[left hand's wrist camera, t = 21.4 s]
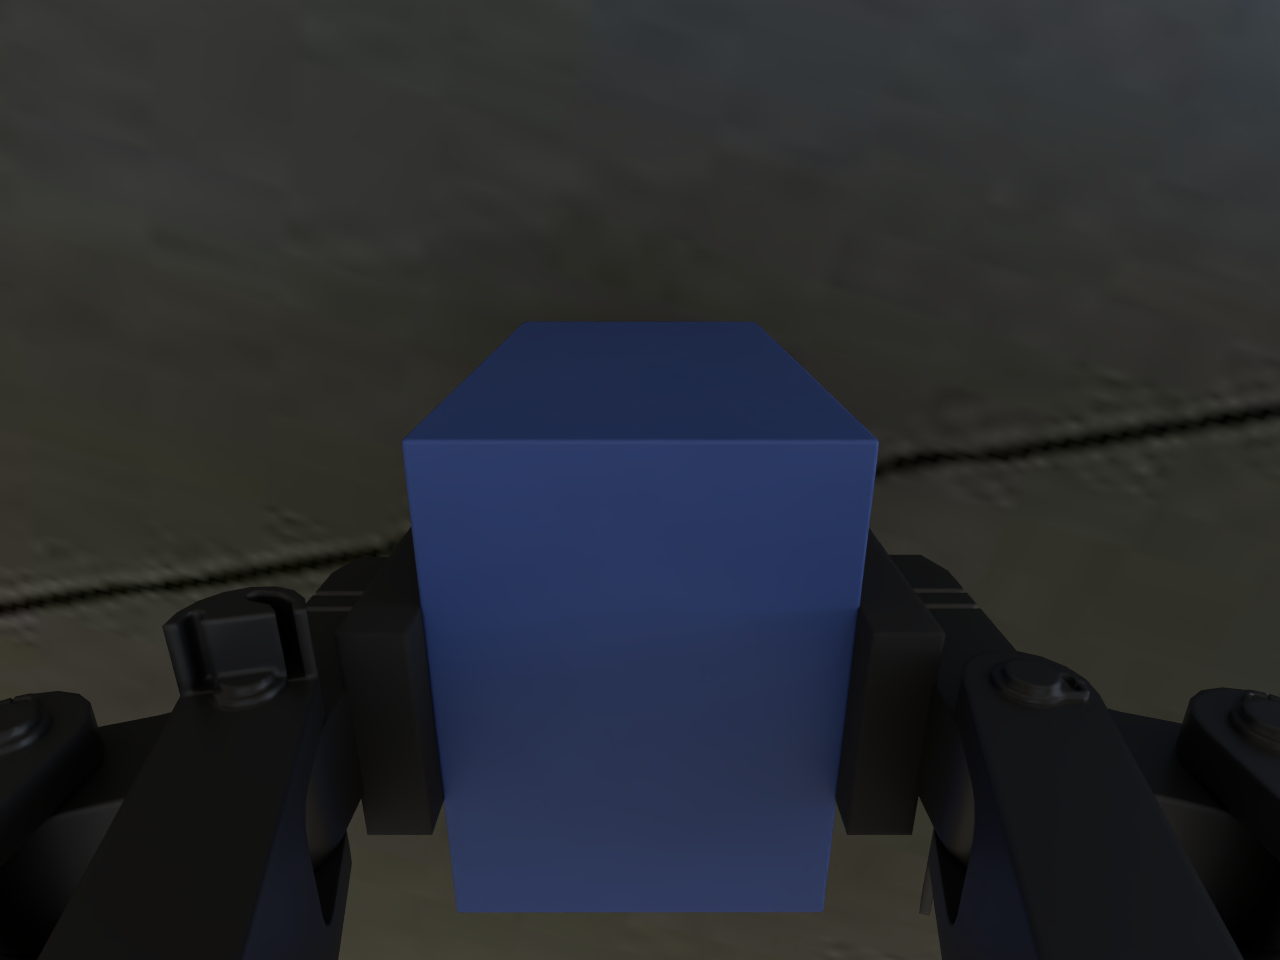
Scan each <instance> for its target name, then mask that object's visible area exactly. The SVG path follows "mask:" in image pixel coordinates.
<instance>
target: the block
mask: <svg viewBox="0 0 1280 960" xmlns="http://www.w3.org/2000/svg"><path fill="white" fill-rule="evenodd" d="M878 448H879V442H878V440H877V439H876V438H875V437H874V436H873V435H872V434H871V433H870V432H869V431H868V430H867V429H866V428H865V427H864V426H863V425H862V424H861V423H860V422H859V421H858V420H857V419H855V418H854V417H853V416H852V415H851V414H850V413H849V412H848V411H847V410H846V409H845V408H844V407H843V406H842V405H841V404H840V403H839V402H838V401H837V400H836V399H835V398H834V397H833V396H832V395H830V394H829V393H828V392H827V391H826V390H825V389H824V388H823V387H822V386H821V385H820V384H819V383H818V382H817V381H816V380H815V379H814V378H813V377H812V376H811V375H810V374H809V373H808V372H807V371H805V370H804V369H803V368H802V367H801V366H800V365H799V364H798V363H797V362H796V361H795V360H794V359H793V358H792V357H791V356H790V355H789V354H788V353H787V352H786V351H785V350H784V349H783V348H782V347H780V346H779V345H778V344H777V343H776V342H775V341H774V340H773V339H772V338H771V337H770V336H769V335H768V334H767V333H766V332H765V331H764V330H763V329H762V328H761V327H760V326H759V325H758V324H756V323H755V322H524V323H523V324H522V325H521V326H520V327H519V328H518V329H517V330H516V331H514V332H513V333H512V334H511V335H510V336H509V337H508V338H507V339H506V340H505V341H504V342H503V343H502V344H501V345H500V346H499V347H498V348H497V349H496V350H495V351H494V352H493V353H492V354H491V355H490V356H489V357H488V358H487V359H486V360H485V361H484V362H483V363H481V364H480V365H479V366H478V367H477V368H476V369H475V370H474V371H473V372H472V373H471V374H470V375H469V376H468V377H467V378H466V379H465V380H464V381H463V382H462V383H461V384H460V385H459V386H458V387H457V388H456V389H455V390H454V391H453V392H452V393H451V394H450V395H448V396H447V397H446V398H445V399H444V400H443V401H442V402H441V403H440V404H439V405H438V406H437V407H436V408H435V409H434V410H433V411H432V412H431V413H430V414H429V415H428V416H427V417H426V418H425V419H424V420H423V421H422V422H421V423H420V424H419V425H418V426H417V427H415V428H414V429H413V430H412V431H411V432H410V433H409V434H408V435H407V436H406V437H405V438H404V439H403V441H402V451H403V459H404V468H405V476H406V485H407V493H408V502H409V510H410V518H411V527H412V535H413V544H414V552H415V561H416V569H417V578H418V586H419V595H420V603H421V610H422V619H423V627H424V636H425V644H426V653H427V661H428V670H429V678H430V687H431V695H432V704H433V712H434V720H435V729H436V737H437V746H438V754H439V763H440V771H441V780H442V788H443V797H444V807H445V815H446V824H447V832H448V841H449V849H450V857H451V866H452V874H453V883H454V891H455V900H456V908H457V911H458V912H821V911H823V906H824V898H825V890H826V881H827V873H828V865H829V856H830V848H831V840H832V831H833V823H834V815H835V806H836V793H837V784H838V776H839V768H840V759H841V751H842V742H843V734H844V725H845V717H846V709H847V700H848V692H849V683H850V675H851V666H852V658H853V650H854V641H855V633H856V624H857V616H858V608H859V606H860V598H861V590H862V581H863V573H864V565H865V556H866V548H867V540H868V531H869V523H870V515H871V506H872V498H873V489H874V481H875V473H876V464H877V456H878Z"/></svg>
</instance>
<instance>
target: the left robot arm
mask: <svg viewBox="0 0 1280 960" xmlns="http://www.w3.org/2000/svg"><path fill="white" fill-rule="evenodd" d="M162 627H163V631H164V635H165V639H166V642H167V646H168V650H169V654H170V658H171V661H172V665H173V669H174V673H175V677H176V681H177V684H178V688H179V692H180V698H179V700H178V702H177V703H176V705H175V707H174V709H173V711H172V712H171V713H167V714H163V715H159V716H153V717H148V718H143V719H138V720H133V721H128V722H122V723H117V724H112V725H107V726H102V727H98V726H97V723H96V719H95V716H94V713H93V710H92V707H91V703H90V702H89V701H88V700H86V699H85V698H84V697H82V696H81V695H80V694H76V693H68V692H61V691H55V692H45V693H36V694H26V695H21V696H16V697H15V699H11V698H9V699H5V700H2V701H0V960H338V957H339V950H340V943H341V936H342V929H343V922H344V914H345V907H346V900H347V893H348V886H349V879H350V872H351V865H352V862H351V854H350V846H349V841H348V835H347V827H348V825H349V823H350V821H351V819H352V817H353V814H354V812H355V810H356V808H357V806H358V804H359V802H360V800H361V799H362V804H363V810H364V816H365V822H366V828H367V834H368V835H432V834H433V831H434V828H435V824H436V821H437V818H438V815H439V812H440V809H441V806H442V803H443V800H444V797H443V788H442V780H441V771H440V763H439V754H438V746H437V737H436V729H435V720H434V712H433V704H432V695H431V687H430V678H429V670H428V661H427V653H426V644H425V636H424V627H423V619H422V610H421V603H420V595H419V586H418V578H417V569H416V561H415V552H414V544H413V535H412V527H411V528H410V529H409V530H408V532H407V533H406V535H405V536H404V537H403V539H402V540H401V541H400V543H399V544H398V546H397V547H396V548H395V550H394V551H393V553H392V554H391V555H390V557H359V558H357V559H355V560H354V561H352V562H350V563H349V564H347V565H345V566H343V567H342V568H340V569H338V570H337V571H335V572H333V573H332V574H331V575H330V576H329V577H328V578H327V580H326V581H325V582H324V583H323V584H322V586H321V587H320V588H319V589H318V590H317V591H316V596H312V597H311V598H310V600H309V601H308V602H307V603H305V598H304V597H302V596H301V595H300V594H298V593H297V592H295V591H294V590H290V589H285V588H280V587H249V588H244V589H238V590H233V591H228V592H223V593H220V594H217V595H214V596H212V597H209V598H206V599H203V600H200V601H197V602H196V603H194V604H192V605H190V606H188V607H186V608H185V609H183V610H181V611H179V612H177V613H176V614H175V615H174V616H173V617H172V618H171V619H170V620H168V621H167V622H166V623H165V624H164V625H163V626H162ZM918 795H919V797H920V799H921V801H922V803H923V805H924V808H925V810H926V812H927V814H928V816H929V818H930V820H931V822H932V824H933V826H934V829H933V835H932V841H931V846H930V852H929V857H928V863H927V868H926V874H925V879H924V885H923V890H922V896H921V903H920V911H919V913H920V914H925V915H930V911H931V906H932V900H933V899H934V906H935V913H936V920H937V927H938V934H939V941H940V948H941V955H942V960H1280V697H1278V696H1274V695H1271V694H1269V696H1268V695H1266V693H1263V692H1258V691H1254V690H1241V689H1232V688H1223V687H1222V688H1215V689H1207V690H1201V691H1200V692H1198V693H1197V694H1196V695H1195V696H1193V697H1192V698H1191V699H1190V701H1189V704H1188V707H1187V711H1186V714H1185V717H1184V720H1183V723H1182V724H1181V723H1176V722H1170V721H1165V720H1160V719H1155V718H1150V717H1144V716H1139V715H1134V714H1129V713H1123V712H1119V711H1115V710H1111V709H1107V708H1106V706H1105V704H1104V702H1103V700H1102V698H1101V697H1100V695H1099V694H1098V693H1097V691H1096V690H1095V689H1094V688H1093V687H1092V686H1091V684H1090V683H1089V682H1088V681H1087V680H1086V679H1084V678H1083V677H1081V676H1080V675H1078V674H1077V673H1075V672H1074V671H1072V670H1070V669H1069V668H1067V667H1066V666H1063V665H1061V664H1058V663H1056V662H1053V661H1051V660H1048V659H1046V658H1044V657H1041V656H1036V655H1032V654H1027V653H1023V652H1018V651H1016V650H1015V649H1014V647H1013V646H1012V645H1011V644H1010V643H1009V642H1008V640H1007V639H1006V638H1005V637H1004V636H1003V634H1002V633H1001V632H1000V631H999V630H998V629H997V627H996V626H995V625H994V624H993V623H992V622H991V620H990V619H989V618H988V617H987V616H986V615H985V613H984V612H983V611H982V610H981V609H977V604H976V603H975V602H974V601H973V599H972V598H971V597H970V596H969V595H968V594H967V593H964V589H963V588H962V587H961V585H960V584H959V583H958V582H957V581H956V580H955V578H954V577H953V576H952V575H951V574H950V573H949V571H948V570H946V569H944V568H942V567H941V566H939V565H937V564H936V563H934V562H932V561H930V560H929V559H927V558H925V557H923V556H922V555H888V553H887V552H886V551H885V549H884V548H883V546H882V545H881V544H880V542H879V541H878V540H877V538H876V537H875V535H874V534H873V533H872V531H871V530H870V528H869V531H868V540H867V548H866V556H865V565H864V573H863V581H862V590H861V598H860V606H859V608H858V616H857V624H856V633H855V641H854V650H853V658H852V666H851V675H850V683H849V692H848V700H847V709H846V717H845V725H844V734H843V742H842V751H841V759H840V768H839V776H838V784H837V793H836V802H837V805H838V808H839V811H840V814H841V817H842V820H843V823H844V826H845V829H846V832H847V835H912V831H913V825H914V819H915V813H916V807H917V801H918Z"/></svg>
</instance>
